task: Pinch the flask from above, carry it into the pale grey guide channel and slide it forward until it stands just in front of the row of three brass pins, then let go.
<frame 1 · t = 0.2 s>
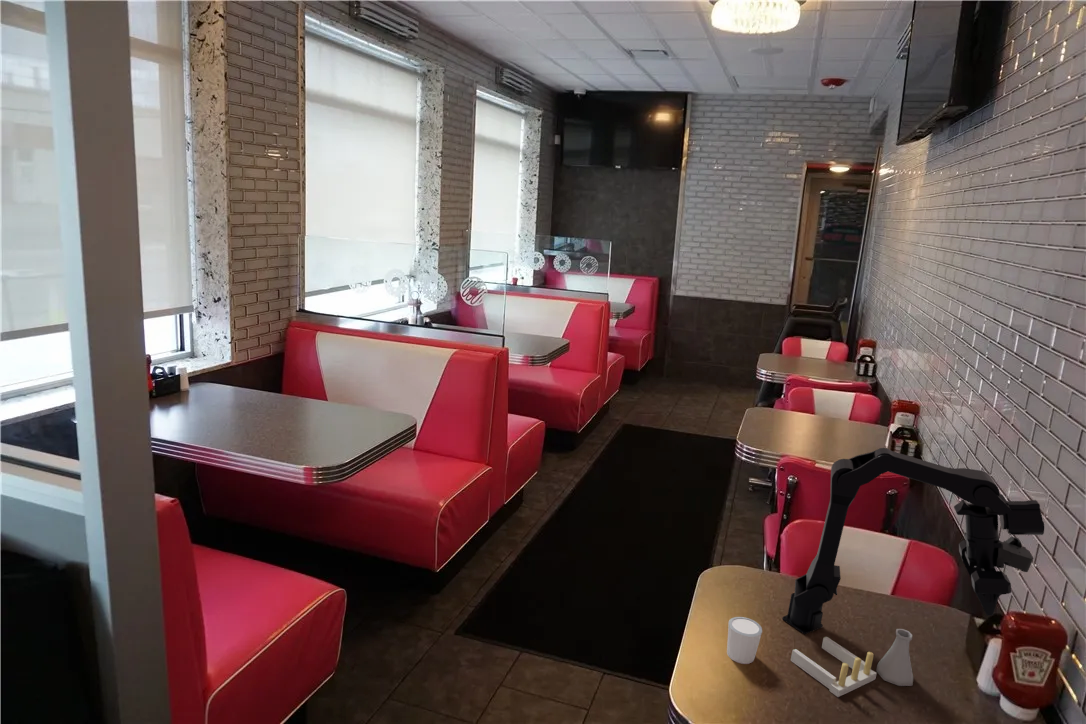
hand: (984, 603, 151), 15 cm above the table, tool pointing down, fingers open, 9 cm apart
pin header: (839, 676, 148), on the table
flask: (894, 676, 150), on the table
shot glass: (740, 655, 153), on the table
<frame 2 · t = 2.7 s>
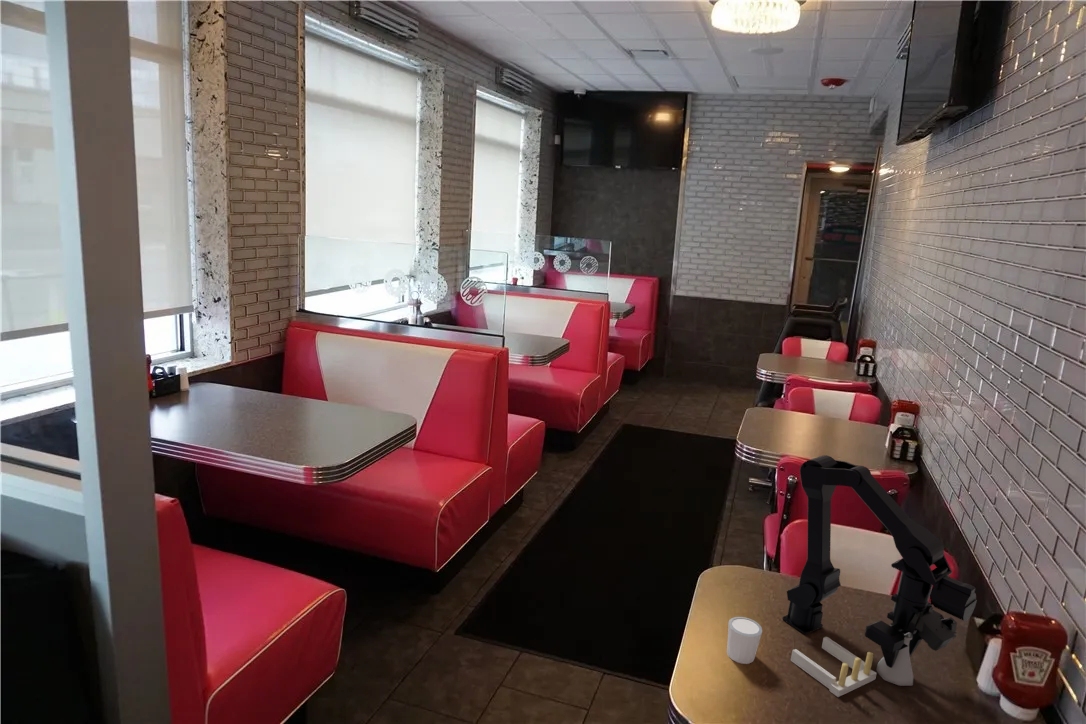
hand: (897, 662, 149), 3 cm above the table, tool pointing down, fingers closed on flask, 5 cm apart
flask: (894, 676, 150), on the table, touching gripper
everything else where it was.
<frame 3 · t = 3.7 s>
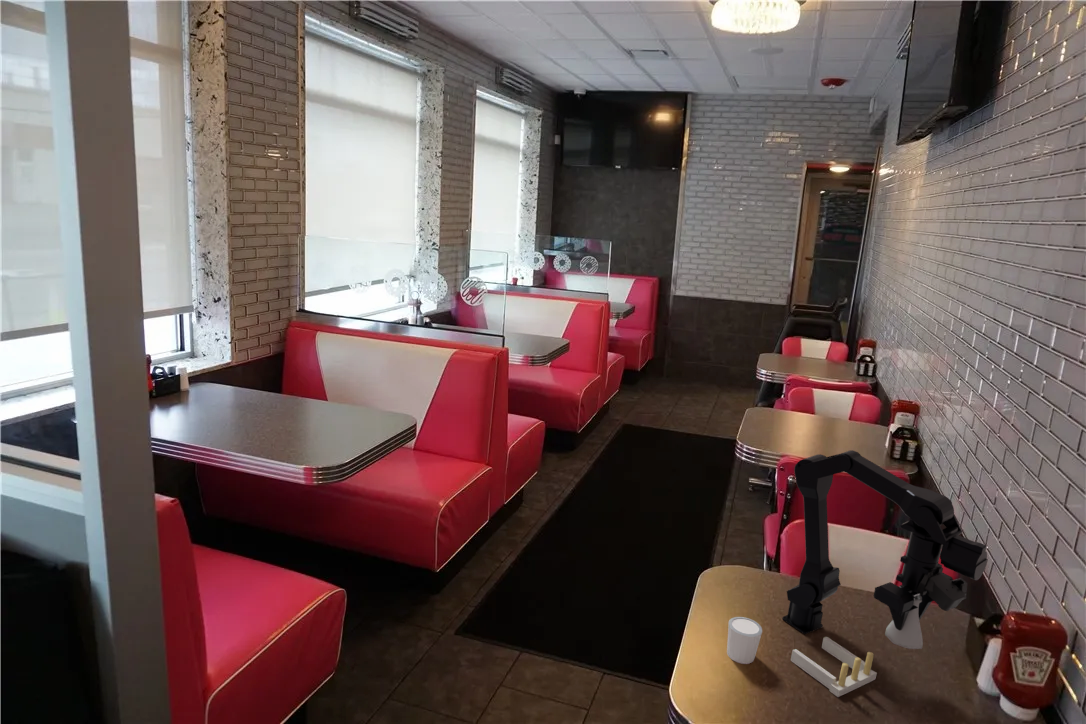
hand: (906, 625, 147), 12 cm above the table, tool pointing down, fingers closed on flask, 5 cm apart
flask: (903, 640, 148), point 8 cm above the table, touching gripper
everything else where it was.
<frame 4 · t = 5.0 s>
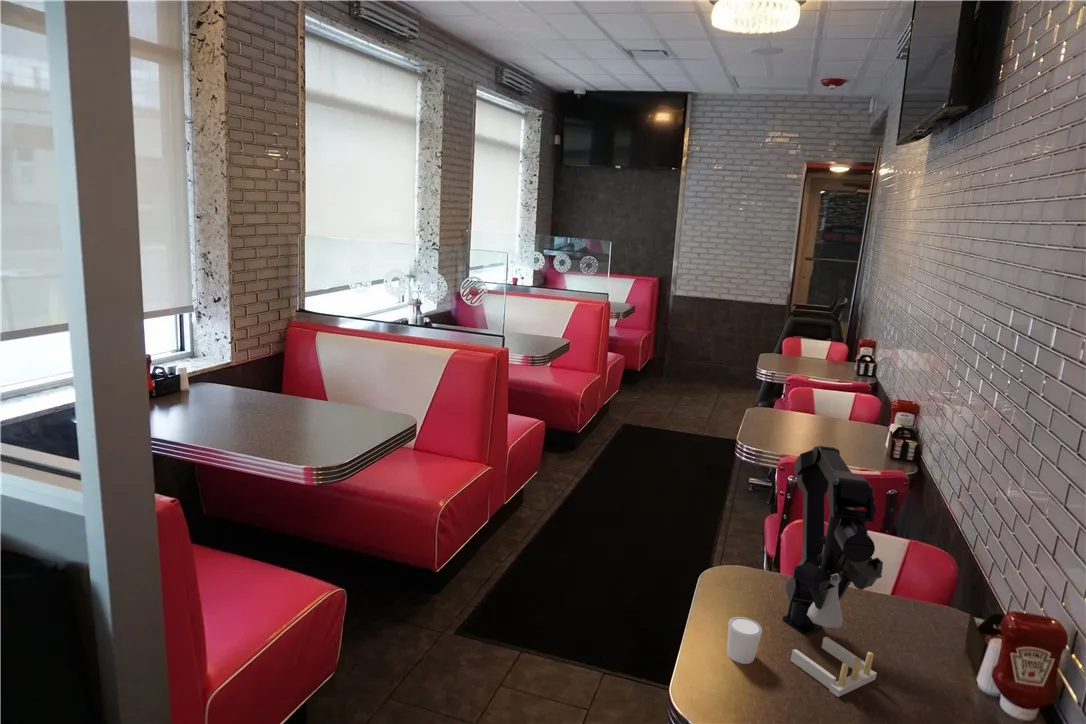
hand: (827, 605, 150), 13 cm above the table, tool pointing down, fingers closed on flask, 5 cm apart
flask: (824, 619, 151), point 9 cm above the table, touching gripper
everything else where it was.
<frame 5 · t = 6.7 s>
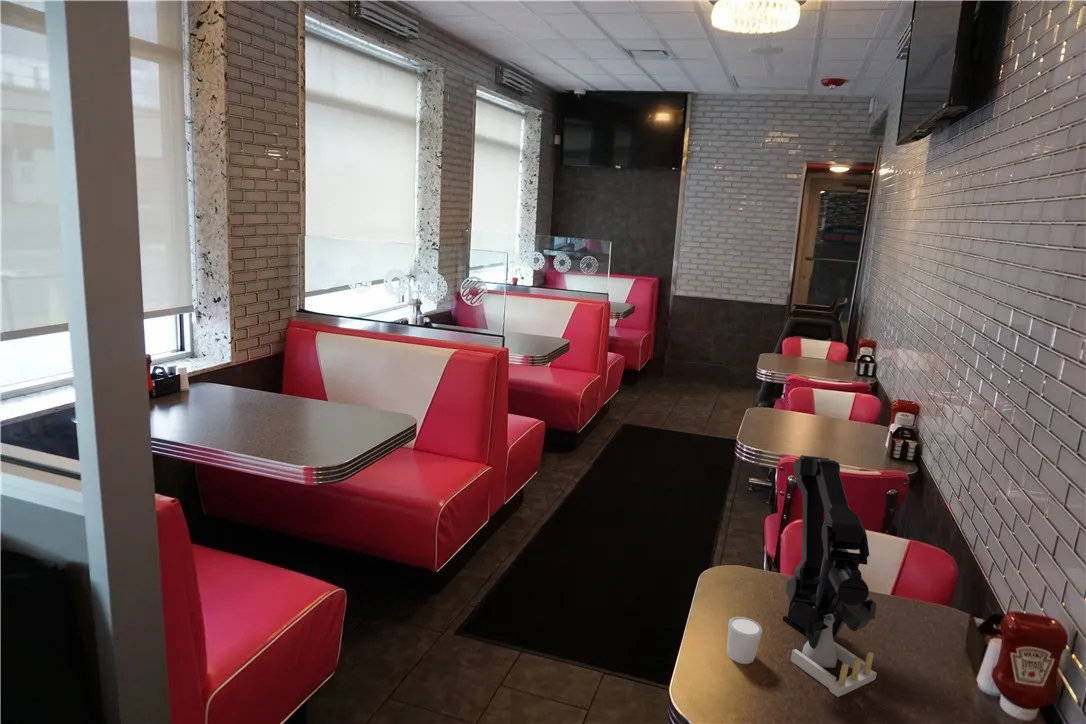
hand: (821, 644, 152), 4 cm above the table, tool pointing down, fingers closed on flask, 5 cm apart
flask: (818, 658, 153), point 1 cm above the table, touching gripper
everything else where it was.
when the fingers open (4 cm above the table, at t = 7.8 s): flask stays where it is, resting in pin header.
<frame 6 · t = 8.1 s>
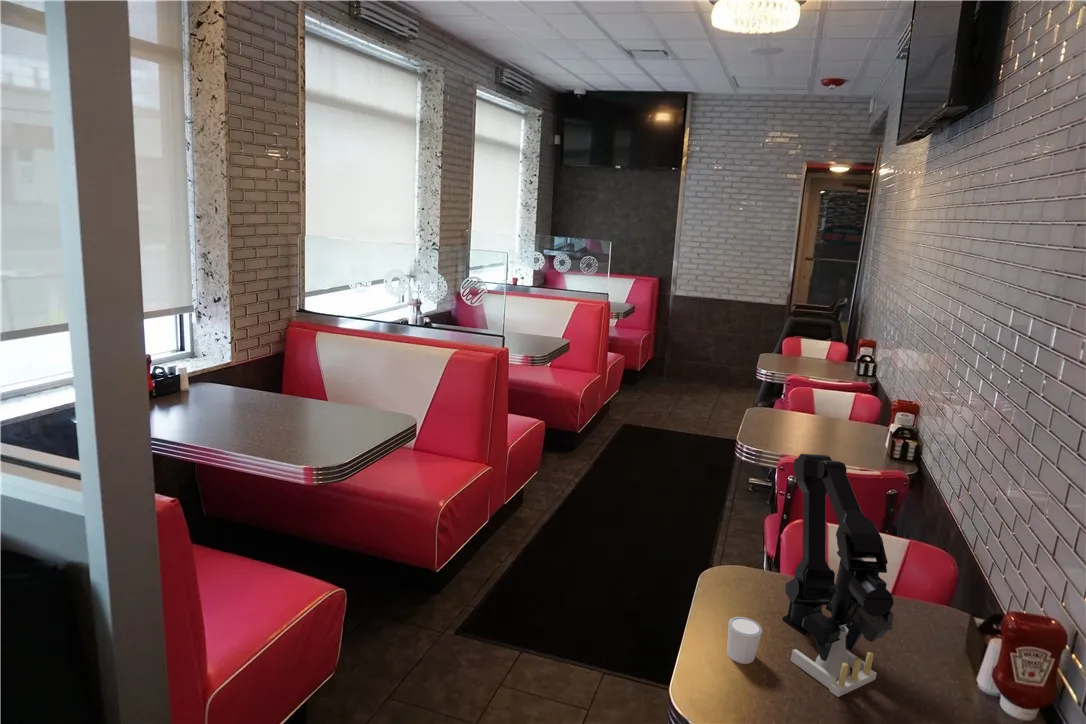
hand: (836, 654, 149), 4 cm above the table, tool pointing down, fingers open, 8 cm apart
flask: (831, 671, 150), resting in pin header
everything else where it was.
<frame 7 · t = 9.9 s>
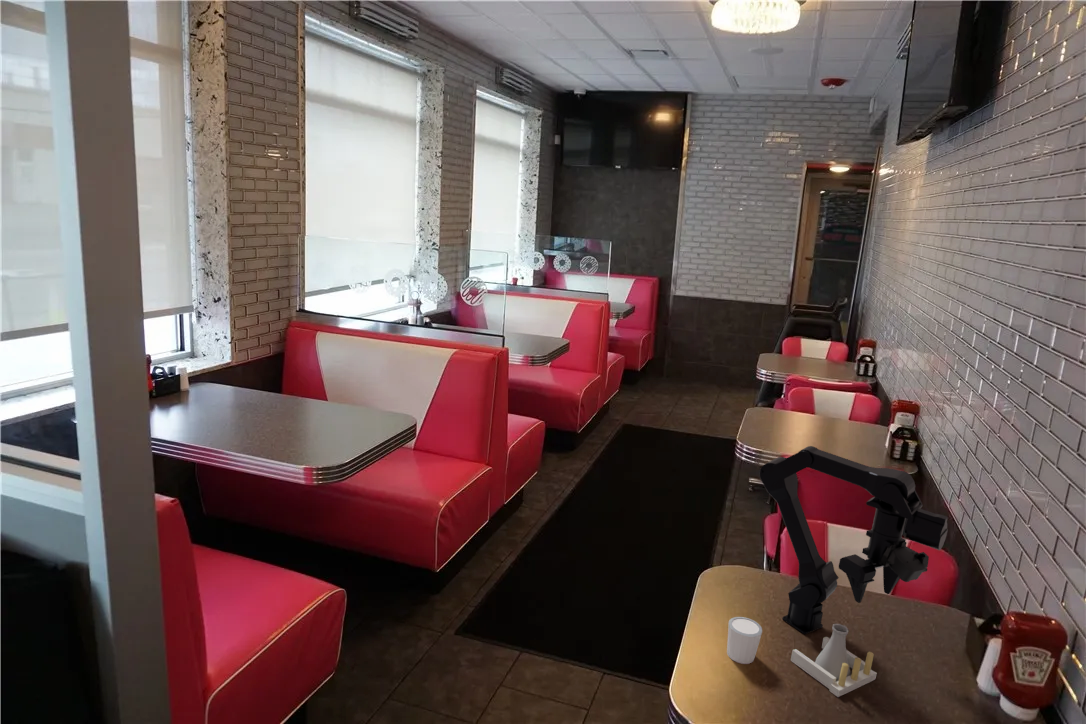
hand: (872, 597, 154), 13 cm above the table, tool pointing down, fingers open, 9 cm apart
nothing on the table moved.
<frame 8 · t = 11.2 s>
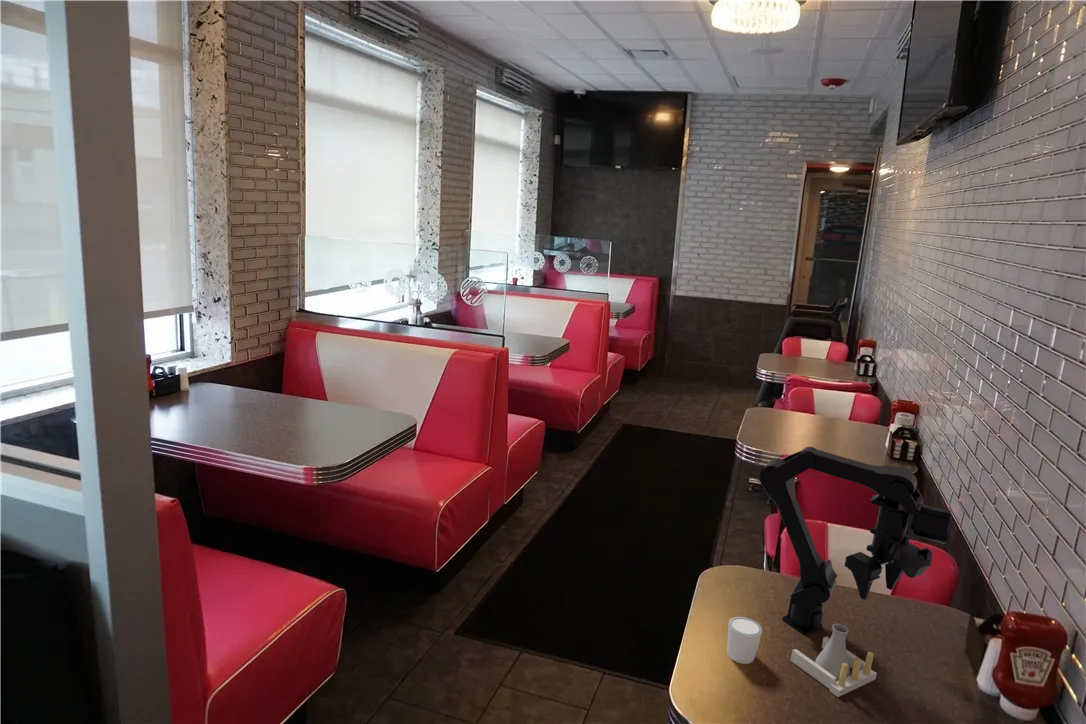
hand: (876, 593, 156), 13 cm above the table, tool pointing down, fingers open, 9 cm apart
nothing on the table moved.
at the end: flask 0.0 cm from the target spot on the pin header, point 0.0 cm above the pin header's base; flask tilted 0°; the gripper is holding nothing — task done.
